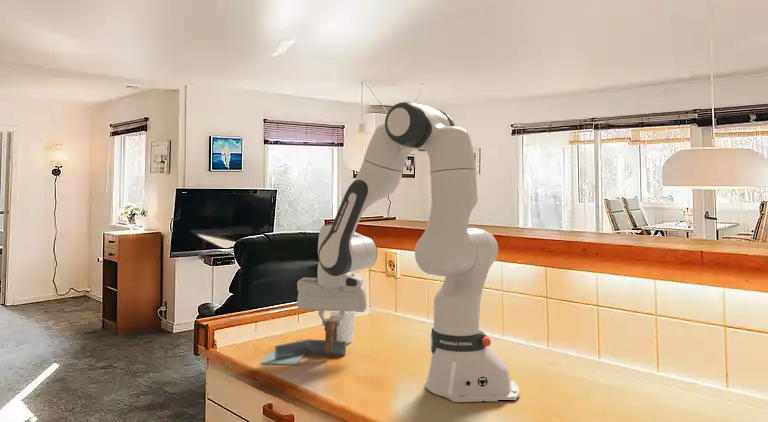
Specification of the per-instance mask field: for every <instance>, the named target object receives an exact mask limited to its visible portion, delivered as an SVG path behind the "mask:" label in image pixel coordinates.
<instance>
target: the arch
mask: <svg viewBox="0 0 768 422" xmlns="http://www.w3.org/2000/svg"><path fill="white" fill-rule="evenodd" d="M327 319H328V320H327V321H326V323H325V326H324V332H325V339H324V340H325V352H332V343H333V340H337V326H335V324H336V323H335V320H336V319H339V316H331V315H330V316H329V318H327Z"/></svg>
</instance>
